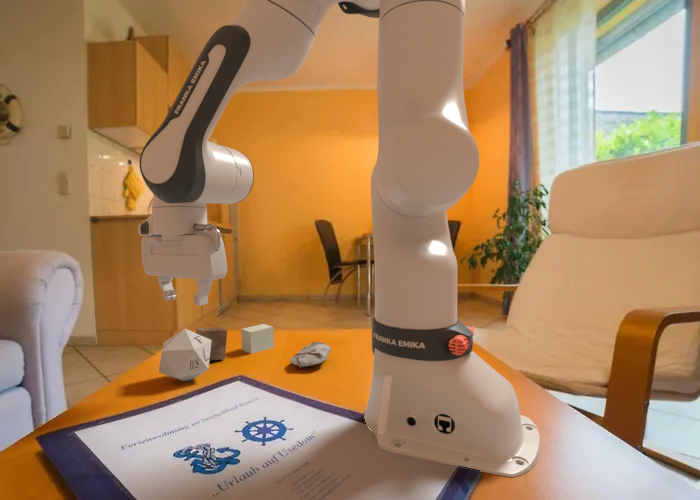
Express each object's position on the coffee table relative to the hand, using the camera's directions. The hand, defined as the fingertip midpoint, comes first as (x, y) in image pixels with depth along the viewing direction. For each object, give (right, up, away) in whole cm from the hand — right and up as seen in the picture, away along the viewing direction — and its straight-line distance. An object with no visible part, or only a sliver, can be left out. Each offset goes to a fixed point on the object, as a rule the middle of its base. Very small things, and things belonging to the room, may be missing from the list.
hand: (184, 302), depth 65 cm
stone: (+25, -14, +12) cm, 31 cm away
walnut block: (0, -8, +13) cm, 15 cm away
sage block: (+8, -14, +19) cm, 25 cm away
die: (0, -15, +1) cm, 15 cm away
